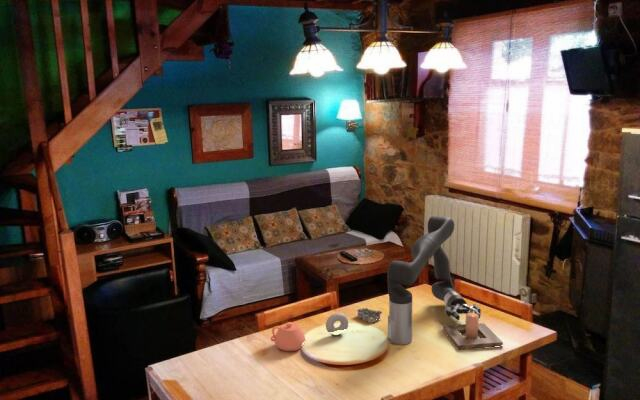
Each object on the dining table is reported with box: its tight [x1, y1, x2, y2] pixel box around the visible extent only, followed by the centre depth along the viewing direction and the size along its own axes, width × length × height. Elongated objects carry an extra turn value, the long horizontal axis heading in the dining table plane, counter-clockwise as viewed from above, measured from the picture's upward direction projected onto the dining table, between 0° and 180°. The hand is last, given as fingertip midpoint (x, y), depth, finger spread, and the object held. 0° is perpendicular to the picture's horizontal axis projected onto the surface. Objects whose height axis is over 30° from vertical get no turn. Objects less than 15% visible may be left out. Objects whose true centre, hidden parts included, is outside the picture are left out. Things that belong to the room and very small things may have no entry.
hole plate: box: [442, 322, 504, 351], centre depth 214 cm, size 18×18×2 cm
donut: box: [325, 312, 349, 333], centre depth 219 cm, size 10×4×10 cm, turn 109°
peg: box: [464, 312, 480, 339], centre depth 214 cm, size 5×5×10 cm
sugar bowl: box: [270, 321, 306, 352], centre depth 210 cm, size 12×14×10 cm
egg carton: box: [356, 307, 383, 323], centre depth 236 cm, size 11×8×4 cm
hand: (468, 317), depth 217 cm, fingers open, 8 cm apart
